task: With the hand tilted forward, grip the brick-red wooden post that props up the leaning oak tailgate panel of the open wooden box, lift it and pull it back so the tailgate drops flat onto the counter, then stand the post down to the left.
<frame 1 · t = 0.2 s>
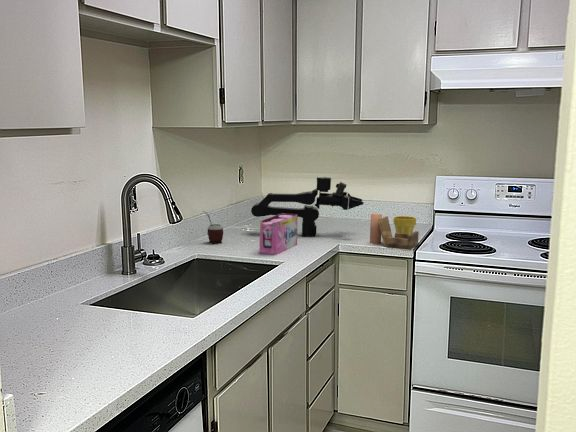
hand: (362, 201, 265), 17 cm above the worktop, tool horizontal, fingers open, 9 cm apart
tailgate: (389, 244, 251), on the worktop
plant pot: (403, 238, 265), on the worktop
mate gourd: (214, 243, 250), on the worktop
post: (375, 242, 254), on the worktop
open wooden box: (402, 239, 247), on the worktop
gum box: (279, 249, 241), on the worktop
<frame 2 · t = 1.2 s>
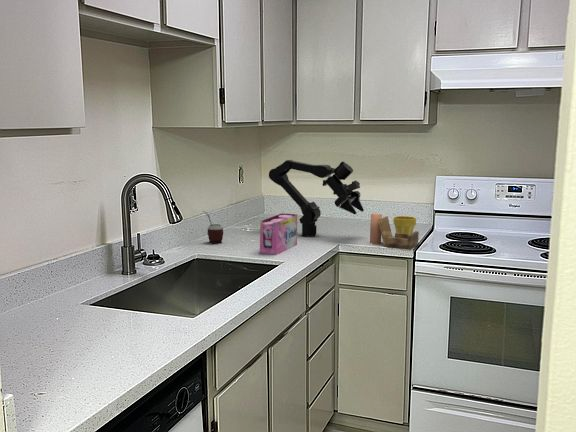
hand: (359, 212, 255), 13 cm above the worktop, tool tilted 45°, fingers open, 9 cm apart
nothing on the worktop moved.
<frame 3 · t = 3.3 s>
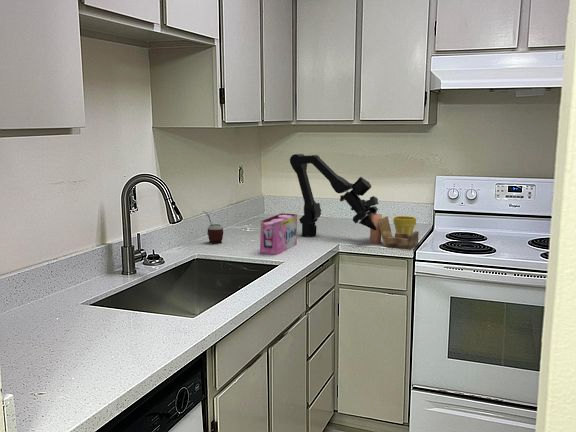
hand: (377, 228, 252), 7 cm above the worktop, tool tilted 45°, fingers closed on post, 5 cm apart
post: (375, 242, 254), on the worktop, touching gripper
everything else where it was.
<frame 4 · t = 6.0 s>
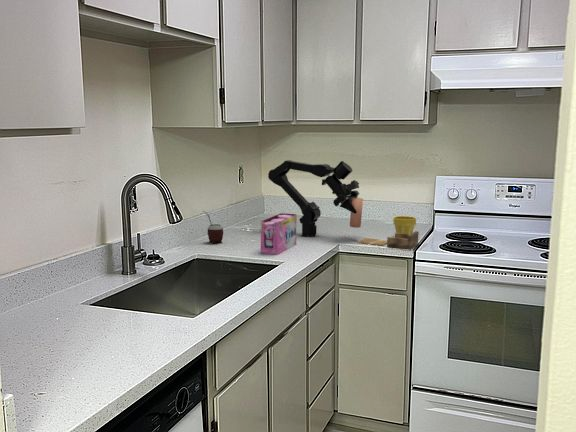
hand: (358, 212, 256), 13 cm above the worktop, tool tilted 45°, fingers closed on post, 5 cm apart
tailgate: (386, 244, 251), on the worktop, tilted 75°
post: (355, 226, 257), point 7 cm above the worktop, touching gripper
everything else where it was.
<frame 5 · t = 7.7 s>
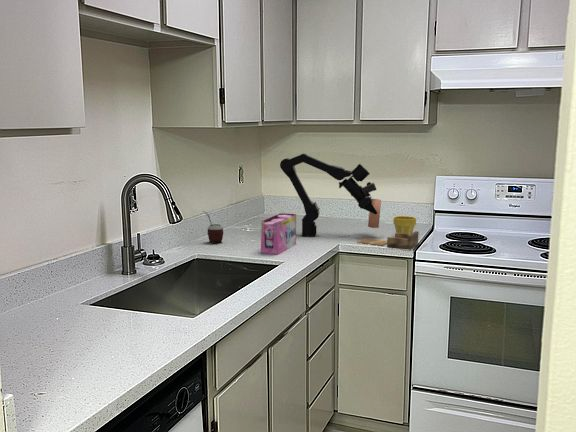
hand: (376, 212, 263), 12 cm above the worktop, tool tilted 45°, fingers closed on post, 5 cm apart
post: (373, 226, 265), point 5 cm above the worktop, touching gripper
everything else where it was.
when the fingers open (8 cm above the worktop, at t = 8.7 s): post stays where it is, on the worktop.
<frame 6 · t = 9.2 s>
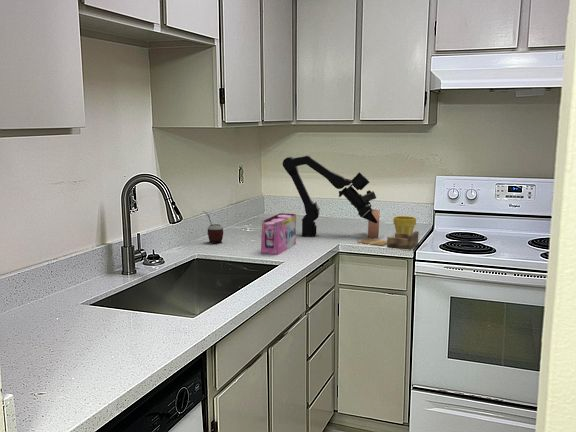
hand: (376, 221, 264), 8 cm above the worktop, tool tilted 45°, fingers open, 9 cm apart
post: (373, 237, 266), on the worktop
everything else where it was.
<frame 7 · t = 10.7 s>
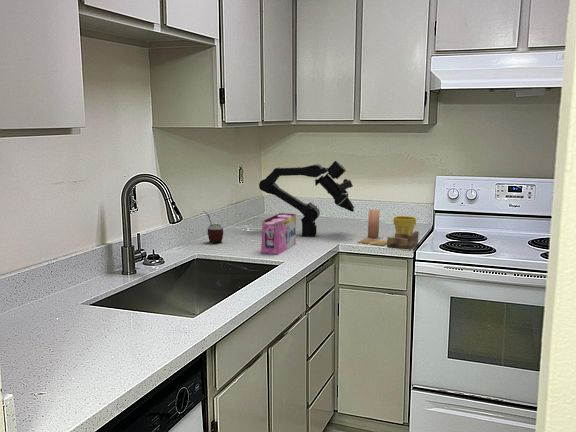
hand: (353, 209, 264), 13 cm above the worktop, tool tilted 45°, fingers open, 9 cm apart
nothing on the worktop moved.
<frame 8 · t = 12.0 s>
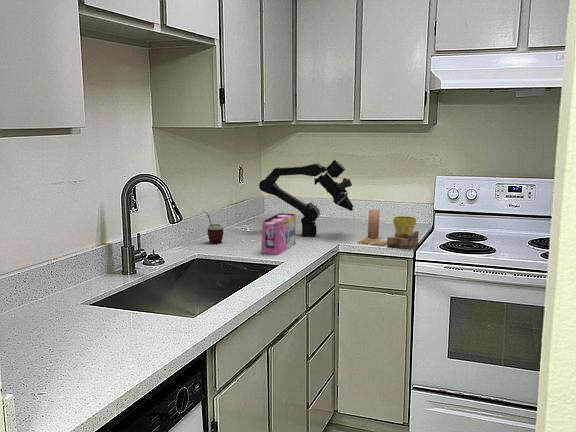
hand: (352, 208, 263), 14 cm above the worktop, tool tilted 45°, fingers open, 9 cm apart
nothing on the worktop moved.
at the end: tailgate tilted 75°; post moved 12.1 cm from its start; the gripper is holding nothing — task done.
